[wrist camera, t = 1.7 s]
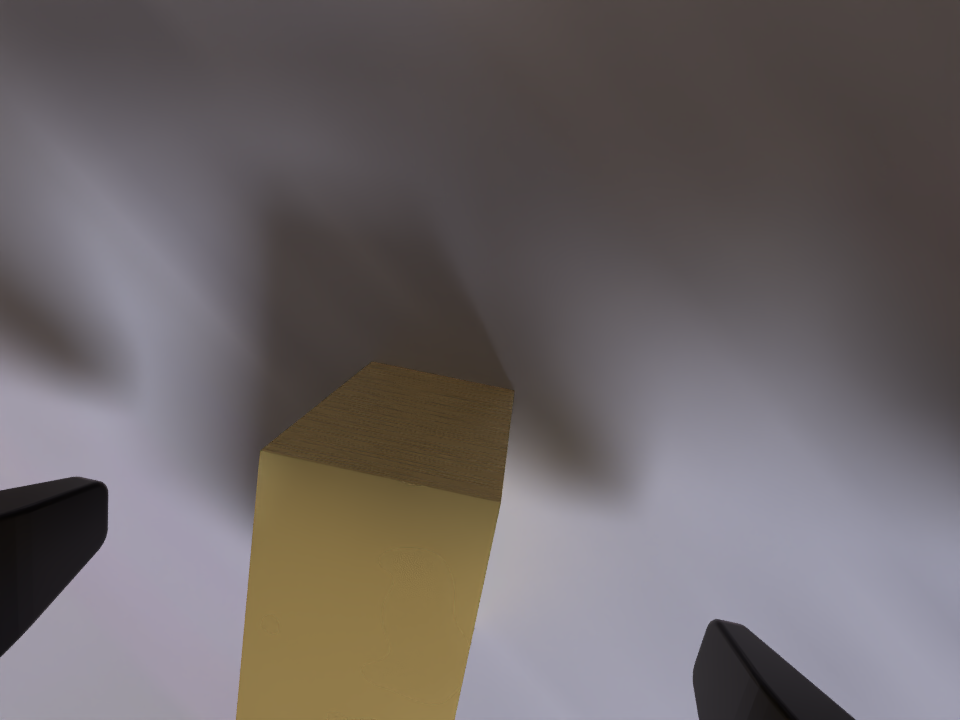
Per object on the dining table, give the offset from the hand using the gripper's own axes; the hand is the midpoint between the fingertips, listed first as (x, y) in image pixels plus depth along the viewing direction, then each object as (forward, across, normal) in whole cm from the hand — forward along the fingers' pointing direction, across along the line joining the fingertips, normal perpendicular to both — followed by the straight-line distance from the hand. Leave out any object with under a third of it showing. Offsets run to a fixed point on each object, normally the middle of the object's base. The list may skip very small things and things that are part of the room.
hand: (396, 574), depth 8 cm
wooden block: (+2, 0, 0) cm, 2 cm away
